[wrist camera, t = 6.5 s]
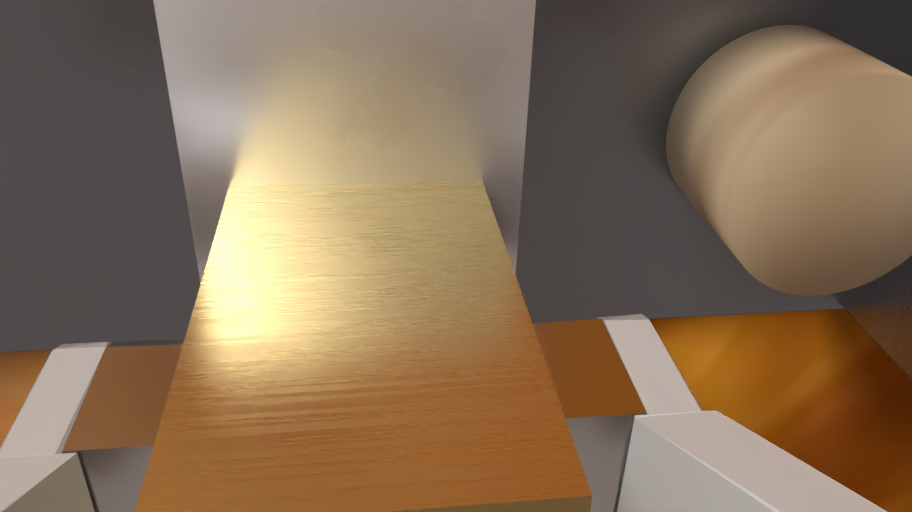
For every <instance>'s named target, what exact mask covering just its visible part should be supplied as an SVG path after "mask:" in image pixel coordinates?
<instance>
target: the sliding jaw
mask: <svg viewBox="0 0 912 512" xmlns="http://www.w3.org/2000/svg"><path fill="white" fill-rule="evenodd" d="M153 2H154V8H155V14H156V20H157V26H158V32H159V38H160V44H161V50H162V56H163V62H164V68H165V74H166V80H167V86H168V92H169V98H170V103H171V109H172V115H173V121H174V127H175V133H176V139H177V145H178V151H179V157H180V163H181V169H182V175H183V181H184V187H185V193H186V199H187V205H188V211H189V217H190V223H191V229H192V235H193V241H194V247H195V253H196V259H197V265H198V271H199V277H200V283H201V284H200V288H199V291H198V295H197V298H196V302H195V305H194V308H193V312H192V315H191V319H190V322H189V326H188V329H187V333H186V336H185V339H184V343H183V346H182V350H181V353H180V357H179V360H178V363H177V367H176V370H175V374H174V377H173V381H172V384H171V387H170V391H169V394H168V398H167V401H166V405H165V408H164V411H163V415H162V418H161V422H160V425H159V429H158V432H157V436H156V439H155V442H154V446H153V449H152V453H151V456H150V460H149V463H148V466H147V470H146V473H145V477H144V480H143V484H142V487H141V490H140V494H139V497H138V501H137V504H136V508H135V511H134V512H590V508H591V501H592V493H591V490H590V487H589V485H588V482H587V479H586V476H585V473H584V470H583V467H582V465H581V462H580V459H579V456H578V453H577V450H576V447H575V444H574V442H573V439H572V436H571V433H570V430H569V427H568V424H567V422H566V419H565V416H564V413H563V410H562V407H561V404H560V401H559V399H558V396H557V393H556V390H555V387H554V384H553V381H552V379H551V376H550V373H549V370H548V367H547V364H546V361H545V358H544V356H543V353H542V350H541V347H540V344H539V341H538V338H537V335H536V333H535V330H534V327H533V324H532V321H531V318H530V315H529V313H528V310H527V307H526V304H525V301H524V298H523V295H522V292H521V290H520V287H519V284H518V281H517V278H516V262H517V248H518V235H519V221H520V208H521V194H522V181H523V167H524V154H525V140H526V127H527V113H528V100H529V86H530V73H531V59H532V46H533V32H534V19H535V5H536V0H153Z"/></svg>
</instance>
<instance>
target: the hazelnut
mask: <svg viewBox="0 0 912 512" xmlns="http://www.w3.org/2000/svg"><path fill="white" fill-rule="evenodd" d="M666 155H667V161H668V166H669V169H670V172H671V175H672V177H673V179H674V181H675V183H676V184H677V186H678V187H679V189H680V190H681V191H682V193H683V194H684V195H685V196H686V198H687V199H688V200H689V201H690V202H691V204H692V205H693V206H694V207H695V208H696V210H697V211H698V212H699V213H700V215H701V216H702V217H703V218H704V219H705V221H706V222H707V223H708V224H709V225H710V227H711V228H712V229H713V230H714V231H715V233H716V234H717V235H718V236H719V237H720V239H721V240H722V241H723V242H724V243H725V245H726V246H727V247H728V248H729V250H730V251H731V252H732V253H733V254H734V256H735V257H736V258H737V259H738V260H739V262H740V263H741V264H742V265H743V266H744V268H745V269H746V270H747V271H748V272H749V273H750V274H751V275H752V276H753V277H754V278H755V279H757V280H758V281H760V282H761V283H763V284H764V285H766V286H768V287H770V288H773V289H775V290H777V291H781V292H784V293H788V294H793V295H801V296H819V295H829V294H834V293H839V292H843V291H847V290H850V289H853V288H856V287H859V286H862V285H864V284H866V283H869V282H871V281H873V280H875V279H877V278H879V277H881V276H882V275H884V274H886V273H888V272H889V271H891V270H892V269H894V268H895V267H897V266H898V265H900V264H901V263H903V262H904V261H905V260H906V259H908V258H909V257H910V256H911V255H912V77H911V76H909V75H907V74H905V73H903V72H902V71H900V70H898V69H896V68H894V67H892V66H890V65H888V64H886V63H884V62H882V61H880V60H878V59H876V58H874V57H872V56H870V55H868V54H866V53H865V52H863V51H861V50H859V49H857V48H855V47H853V46H851V45H849V44H847V43H845V42H843V41H841V40H839V39H837V38H835V37H833V36H831V35H829V34H828V33H825V32H823V31H820V30H818V29H815V28H811V27H807V26H801V25H779V26H772V27H767V28H762V29H759V30H756V31H753V32H750V33H748V34H745V35H743V36H741V37H739V38H737V39H735V40H733V41H732V42H730V43H728V44H727V45H725V46H724V47H722V48H721V49H719V50H718V51H717V52H716V53H714V54H713V55H712V56H710V57H709V58H708V59H707V60H706V61H705V62H704V63H703V64H702V65H701V66H700V67H699V68H698V69H697V71H696V72H695V73H694V74H693V75H692V77H691V78H690V79H689V80H688V82H687V84H686V85H685V87H684V88H683V90H682V91H681V93H680V95H679V97H678V99H677V101H676V103H675V105H674V108H673V111H672V113H671V116H670V120H669V124H668V128H667V136H666Z"/></svg>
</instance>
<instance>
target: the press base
mask: <svg viewBox="0 0 912 512" xmlns="http://www.w3.org/2000/svg"><path fill="white" fill-rule="evenodd" d="M779 25H801V26H807V27H811V28H815V29H818V30H820V31H823V32H825V33H828V34H829V35H831V36H833V37H835V38H837V39H839V40H841V41H843V42H845V43H847V44H849V45H851V46H853V47H855V48H857V49H859V50H861V51H863V52H865V53H866V54H868V55H870V56H872V57H874V58H876V59H878V60H880V61H882V62H884V63H886V64H888V65H890V66H892V67H894V68H896V69H898V70H900V71H902V72H903V73H905V74H907V75H909V76H911V77H912V0H536V5H535V19H534V32H533V46H532V59H531V73H530V86H529V100H528V113H527V127H526V140H525V154H524V167H523V181H522V194H521V208H520V221H519V235H518V248H517V262H516V278H517V281H518V284H519V287H520V290H521V292H522V295H523V298H524V301H525V304H526V307H527V310H528V313H529V315H530V318H531V321H532V323H537V322H553V321H569V320H586V319H597V317H609V316H621V315H634V314H642V315H644V316H646V317H647V318H649V319H656V318H676V317H695V316H715V315H734V314H754V313H773V312H793V311H812V310H831V309H845V310H846V311H847V312H848V313H849V314H850V315H851V316H852V317H853V318H854V319H855V320H856V321H857V322H858V323H859V325H860V326H861V327H862V328H863V329H864V330H865V331H866V332H867V333H868V334H869V335H870V336H871V337H872V338H873V339H874V340H875V341H876V342H877V343H878V344H879V345H880V346H881V348H882V349H883V350H884V351H885V352H886V353H887V354H888V355H889V356H890V357H891V358H892V359H893V360H894V361H895V362H896V363H897V364H898V365H899V366H900V367H901V368H902V369H903V370H904V372H905V373H906V374H907V375H908V376H909V377H910V378H911V379H912V255H911V256H910V257H909V258H908V259H906V260H905V261H904V262H903V263H901V264H900V265H898V266H897V267H895V268H894V269H892V270H891V271H889V272H888V273H886V274H884V275H882V276H881V277H879V278H877V279H875V280H873V281H871V282H869V283H866V284H864V285H862V286H859V287H856V288H853V289H850V290H847V291H843V292H839V293H834V294H829V295H819V296H801V295H793V294H788V293H784V292H781V291H777V290H775V289H773V288H770V287H768V286H766V285H764V284H763V283H761V282H760V281H758V280H757V279H755V278H754V277H753V276H752V275H751V274H750V273H749V272H748V271H747V270H746V269H745V268H744V266H743V265H742V264H741V263H740V262H739V260H738V259H737V258H736V257H735V256H734V254H733V253H732V252H731V251H730V250H729V248H728V247H727V246H726V245H725V243H724V242H723V241H722V240H721V239H720V237H719V236H718V235H717V234H716V233H715V231H714V230H713V229H712V228H711V227H710V225H709V224H708V223H707V222H706V221H705V219H704V218H703V217H702V216H701V215H700V213H699V212H698V211H697V210H696V208H695V207H694V206H693V205H692V204H691V202H690V201H689V200H688V199H687V198H686V196H685V195H684V194H683V193H682V191H681V190H680V189H679V187H678V186H677V184H676V183H675V181H674V179H673V177H672V175H671V172H670V169H669V166H668V161H667V155H666V136H667V128H668V124H669V120H670V116H671V113H672V111H673V108H674V105H675V103H676V101H677V99H678V97H679V95H680V93H681V91H682V90H683V88H684V87H685V85H686V84H687V82H688V80H689V79H690V78H691V77H692V75H693V74H694V73H695V72H696V71H697V69H698V68H699V67H700V66H701V65H702V64H703V63H704V62H705V61H706V60H707V59H708V58H709V57H710V56H712V55H713V54H714V53H716V52H717V51H718V50H719V49H721V48H722V47H724V46H725V45H727V44H728V43H730V42H732V41H733V40H735V39H737V38H739V37H741V36H743V35H745V34H748V33H750V32H753V31H756V30H759V29H762V28H767V27H772V26H779ZM200 284H201V283H200V277H199V271H198V265H197V259H196V253H195V247H194V241H193V235H192V229H191V223H190V217H189V211H188V205H187V199H186V193H185V187H184V181H183V175H182V169H181V163H180V157H179V151H178V145H177V139H176V133H175V127H174V121H173V115H172V109H171V103H170V98H169V92H168V86H167V80H166V74H165V68H164V62H163V56H162V50H161V44H160V38H159V32H158V26H157V20H156V14H155V8H154V2H153V0H0V352H13V351H33V350H52V349H55V348H57V347H58V346H60V345H62V344H73V343H93V342H110V343H113V342H114V341H146V340H178V339H185V336H186V333H187V329H188V326H189V322H190V319H191V315H192V312H193V308H194V305H195V302H196V298H197V295H198V291H199V288H200Z"/></svg>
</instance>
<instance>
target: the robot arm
mask: <svg viewBox="0 0 912 512" xmlns="http://www.w3.org/2000/svg"><path fill="white" fill-rule="evenodd" d="M532 324H533V327H534V330H535V333H536V335H537V338H538V341H539V344H540V347H541V350H542V353H543V356H544V358H545V361H546V364H547V367H548V370H549V373H550V376H551V379H552V381H553V384H554V387H555V390H556V393H557V396H558V399H559V401H560V404H561V407H562V410H563V413H564V416H565V419H566V422H567V424H568V427H569V430H570V433H571V436H572V439H573V442H574V444H575V447H576V450H577V453H578V456H579V459H580V462H581V465H582V467H583V470H584V473H585V476H586V479H587V482H588V485H589V487H590V490H591V493H592V501H591V508H590V512H887V511H886V510H884V509H882V508H881V507H879V506H877V505H875V504H874V503H872V502H870V501H869V500H867V499H865V498H864V497H862V496H860V495H859V494H857V493H855V492H854V491H852V490H850V489H848V488H847V487H845V486H843V485H842V484H840V483H838V482H837V481H835V480H833V479H832V478H830V477H828V476H826V475H825V474H823V473H821V472H820V471H818V470H816V469H815V468H813V467H811V466H810V465H808V464H806V463H804V462H803V461H801V460H799V459H798V458H796V457H794V456H793V455H791V454H789V453H788V452H786V451H784V450H783V449H781V448H779V447H777V446H776V445H774V444H772V443H771V442H769V441H767V440H766V439H764V438H762V437H761V436H759V435H757V434H755V433H754V432H752V431H750V430H749V429H747V428H745V427H744V426H742V425H740V424H739V423H737V422H735V421H733V420H732V419H730V418H728V417H727V416H725V415H723V414H722V413H720V412H718V411H717V410H716V411H702V409H701V407H700V406H699V404H698V402H697V400H696V399H695V397H694V395H693V394H692V392H691V390H690V388H689V387H688V385H687V383H686V382H685V380H684V378H683V376H682V375H681V373H680V371H679V370H678V368H677V366H676V364H675V363H674V361H673V359H672V358H671V356H670V354H669V352H668V351H667V349H666V347H665V346H664V344H663V342H662V340H661V339H660V337H659V335H658V334H657V332H656V330H655V328H654V327H653V325H652V323H651V322H650V320H649V318H647V317H646V316H644V315H642V314H634V315H621V316H609V317H597V319H586V320H569V321H553V322H537V323H532ZM183 343H184V339H178V340H146V341H114V342H113V343H110V342H93V343H73V344H62V345H60V346H58V347H57V348H55V349H54V350H53V351H52V352H51V353H50V355H49V357H48V359H47V361H46V363H45V364H44V366H43V368H42V370H41V372H40V374H39V376H38V378H37V380H36V381H35V383H34V385H33V387H32V389H31V391H30V393H29V395H28V397H27V398H26V400H25V402H24V404H23V406H22V408H21V410H20V412H19V414H18V415H17V417H16V419H15V421H14V423H13V425H12V427H11V429H10V431H9V432H8V434H7V436H6V438H5V440H4V442H3V444H2V446H1V448H0V512H134V511H135V508H136V504H137V501H138V497H139V494H140V490H141V487H142V484H143V480H144V477H145V473H146V470H147V466H148V463H149V460H150V456H151V453H152V449H153V446H154V442H155V439H156V436H157V432H158V429H159V425H160V422H161V418H162V415H163V411H164V408H165V405H166V401H167V398H168V394H169V391H170V387H171V384H172V381H173V377H174V374H175V370H176V367H177V363H178V360H179V357H180V353H181V350H182V346H183Z"/></svg>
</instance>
